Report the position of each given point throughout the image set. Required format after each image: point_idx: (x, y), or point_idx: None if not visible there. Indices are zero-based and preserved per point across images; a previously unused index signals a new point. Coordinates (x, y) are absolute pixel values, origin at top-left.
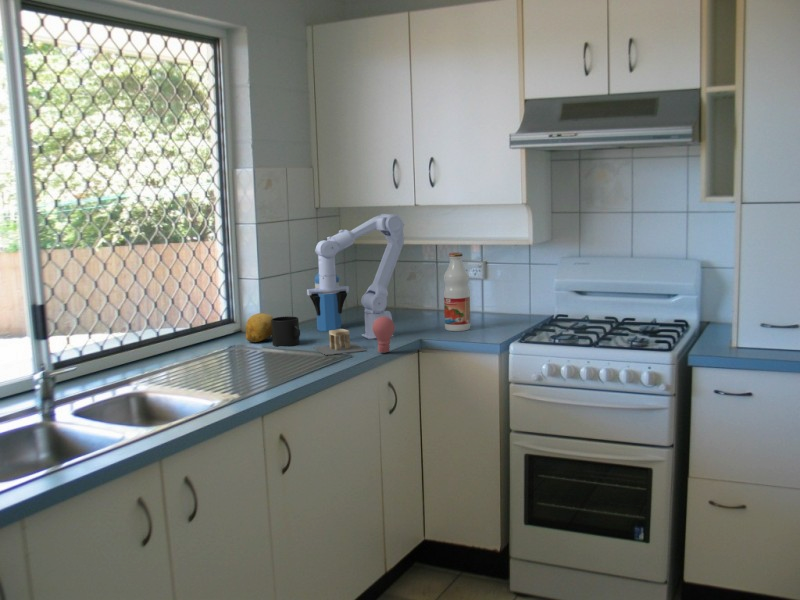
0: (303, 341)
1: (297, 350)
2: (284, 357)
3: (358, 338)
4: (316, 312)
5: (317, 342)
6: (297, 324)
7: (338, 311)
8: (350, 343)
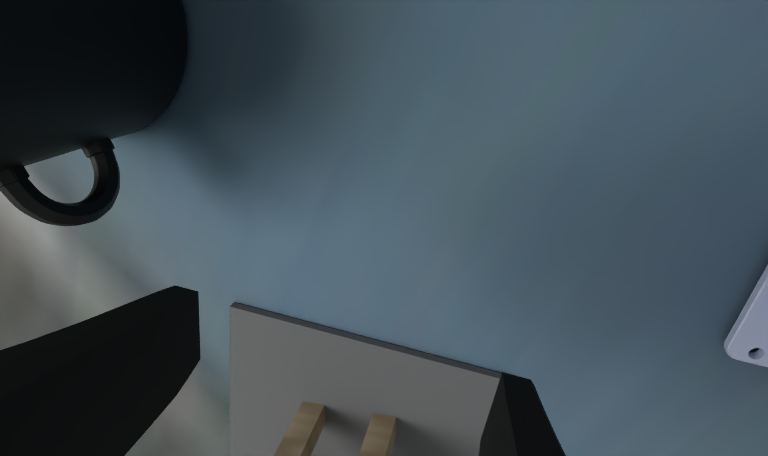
0: (236, 3)
1: (131, 280)
2: None
3: (698, 239)
4: (143, 300)
5: (322, 137)
6: (24, 147)
7: (494, 411)
8: (481, 389)
